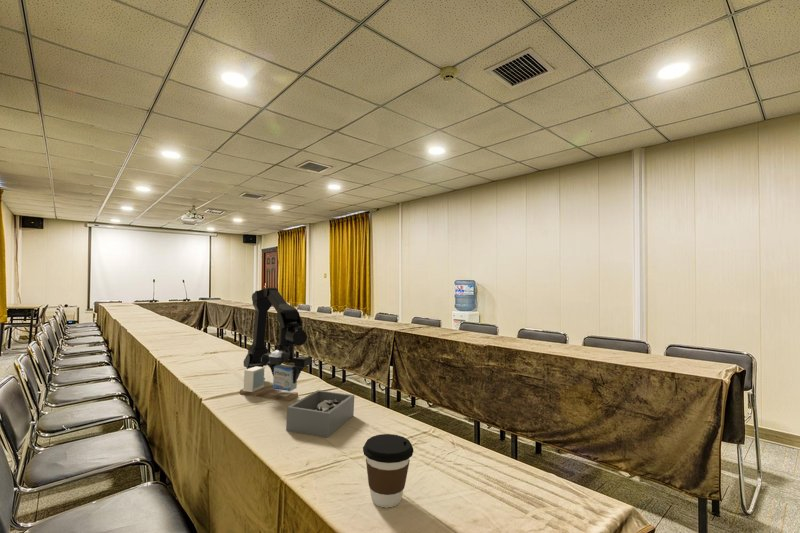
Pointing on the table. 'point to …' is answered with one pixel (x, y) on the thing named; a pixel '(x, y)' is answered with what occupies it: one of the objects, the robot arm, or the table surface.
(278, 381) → the medicine box
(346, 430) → the table surface
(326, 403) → the camera
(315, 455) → the table surface
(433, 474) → the table surface
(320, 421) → the tray
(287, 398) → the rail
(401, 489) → the coffee cup
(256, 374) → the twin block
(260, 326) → the robot arm
